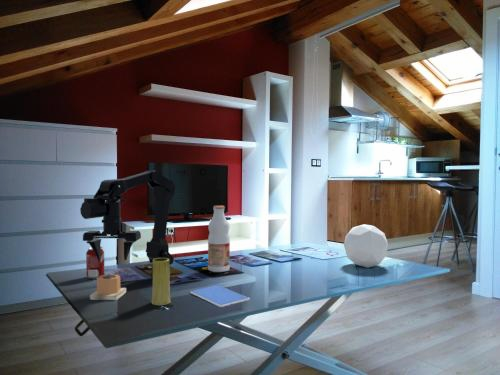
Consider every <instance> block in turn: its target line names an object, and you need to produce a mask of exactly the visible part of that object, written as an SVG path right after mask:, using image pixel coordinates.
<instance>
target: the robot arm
mask: <svg viewBox="0 0 500 375" xmlns="http://www.w3.org/2000/svg"><path fill="white" fill-rule="evenodd" d="M144 184H148V186H149V187H150V188H152V189H153V198H154V199H155V201H156V203H155V214H154V222H153V230H152V238H151V240H150V241H146V249H145V251H144V252H145V253H146V257H147V258H148V261H149V263H150V264H153V259H155V258H168V259H169V277H170V278H171V277H172V274H171V265H172V264H174V262H175V261H174V260H175V258H174V257H173V256H172V254H171V253H170V252H169V247H170V246H169V244H168V241H167V239H166V238H167V226H168V218H169V207H170V202H171V201H172V199H173V197H174V195H175V190H176V184H175V182H174V181H173V180H172V179H169V178H168V177H166V176H163V175H162V174H160V173H158V172H157V170H145V171H144V172H141V173H137V174H134V175H130V176H126V177H124V178H117V179H115V178H114V179H113V178H112V179H104V180H102V181H101V182H100V185H99V188H97V191H96V192H95V194H94V196H93V197H92V198H91V197H85V198H84V199H83V202H82V204H81V205H80V209H79V210H80V215H81V217H82V218H83V219H85V220H91V219H95V218H96V219H98V218H99V219H100V218H102V219H101V224H102V225H103V226H102V227H103V230H102V231H100V230H87V231H85V232H84V233H83V234H82V242H86V244H88V245H89V246H90V247H92V249H93V250H94V252H95V254H96V256H97V258H98V260H101V247H102V246H101V243H102V239H124V240H125V241H123V259H124V260H123V261H128V260H127V259H128V258H129V257H128V256H129V254H130V251H131V248H132V246H133V244H134V243H136V242H137V241H138V240H141V238H142V235H141V232H140V230H128V231H127V226H128V225H127V224H126V223H125V222H123V219H122V217H121V203H126V199H124V198H123V197H122V195H124V194H126V192H127V191H128V190H130V189H133V188H136V187H139V186H141V185H144ZM150 269H151V271H150V272H151V274H150V275H151V276H150V277H151V278H150V279H151V281H153V266H152V267H151V268H150Z"/></svg>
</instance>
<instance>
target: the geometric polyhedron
mask: <svg viewBox="0 0 500 375" xmlns="http://www.w3.org/2000/svg"><path fill="white" fill-rule="evenodd" d="M344 238H345V239H344V243H343V247H344V250H345V255H346V258H347V259H349V261H351V262H352V263H353V264H355V265H357V266H360V267H364V268H367V269H368V268H371V267H375V266H379V265H380V264H381V263H382V262H383V261H384V260H385V258H386V257H387V256H388V248H389V242H388V239H387V237H386V234H385V232H383V231H381V229H379V228H378V227H376V226H375V225H371V224H365V223H364V224H360V225H357V226H354V227H353V226H352V228H351V229H350V230H349V231H348V232H347V234H346V235H345V237H344Z"/></svg>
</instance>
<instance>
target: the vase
mask: <svg viewBox="0 0 500 375" xmlns="http://www.w3.org/2000/svg"><path fill="white" fill-rule="evenodd" d="M152 267H153V280H152V290H151V291H152V294H151V295H152V296H151V304H152V305H154V306H158V307H159V306H160V305H161V306H166V305H169V304H171V302H172V301H171V285H170V284H171V283H170V282H171V281H170V280H171V277H169V259H168V258H155V259H153V263H152Z"/></svg>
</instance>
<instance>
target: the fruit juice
mask: <svg viewBox="0 0 500 375" xmlns="http://www.w3.org/2000/svg"><path fill="white" fill-rule="evenodd" d="M212 208H213V216H212V218H211V220H210V221H209V222H208V231H209V234H208V237H207V238H208V240H207V260H208V261H207V262H208V263H207V269H208V271H210V272H212V273H213V272H214V273H222V272H228V271H229V270H230V269H231V268H230V264H231V263H230V260H231V259H230V257H231V255H230V254H231V252H230V250H231V248H230V246H231V244H230V242H231V240H230V239H231V238H230V234H229V230H230V223H229V221H228V220H227V219H226V215H225V208H226V206H225V205H213V206H212Z"/></svg>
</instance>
